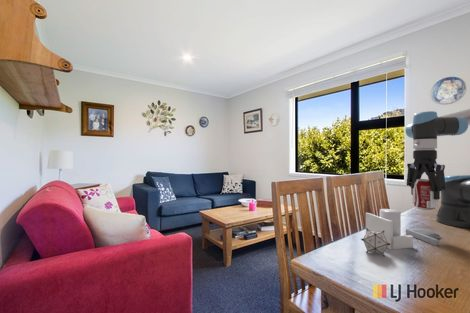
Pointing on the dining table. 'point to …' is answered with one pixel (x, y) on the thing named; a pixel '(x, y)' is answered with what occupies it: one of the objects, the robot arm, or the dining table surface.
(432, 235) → the coaster
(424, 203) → the soda can
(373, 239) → the game die
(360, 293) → the dining table surface
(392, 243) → the dispenser rack
